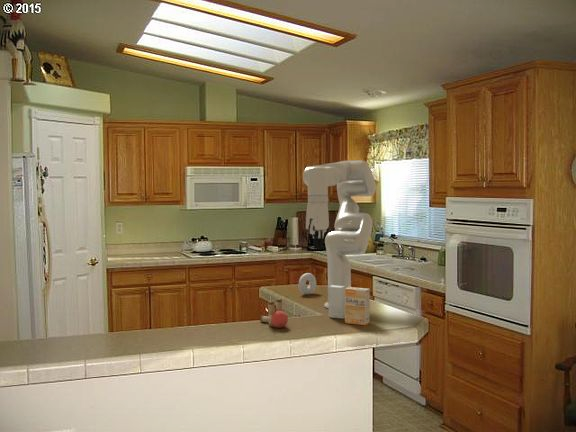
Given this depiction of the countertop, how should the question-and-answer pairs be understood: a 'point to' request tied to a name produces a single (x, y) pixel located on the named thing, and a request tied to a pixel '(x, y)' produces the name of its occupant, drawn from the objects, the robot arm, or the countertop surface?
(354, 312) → the supplement box
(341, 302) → the skincare box
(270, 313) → the pin
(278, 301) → the pin
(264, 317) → the front pin
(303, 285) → the donut
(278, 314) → the ball
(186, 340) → the countertop surface
